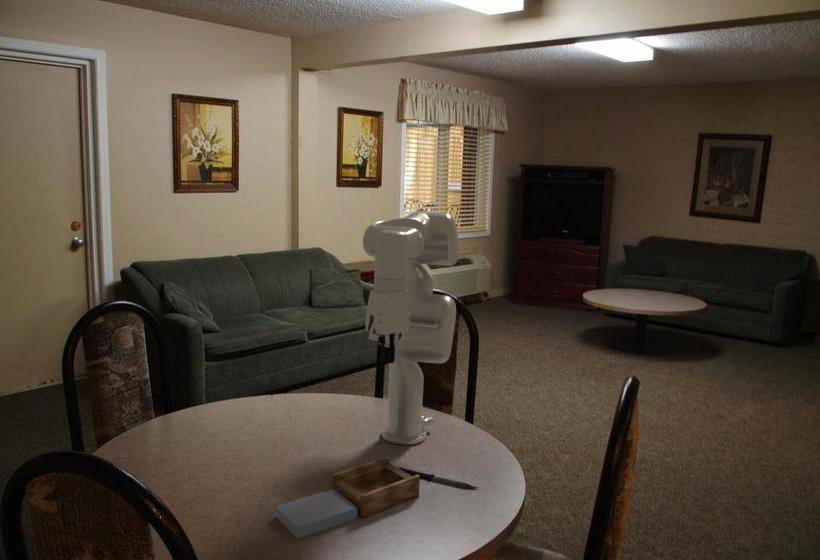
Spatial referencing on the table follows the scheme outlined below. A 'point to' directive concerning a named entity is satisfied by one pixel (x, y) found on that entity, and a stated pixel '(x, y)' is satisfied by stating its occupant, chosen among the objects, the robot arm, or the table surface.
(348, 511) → the cover plate
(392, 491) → the walnut box
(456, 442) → the table surface
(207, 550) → the table surface
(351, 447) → the table surface
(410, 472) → the knife
